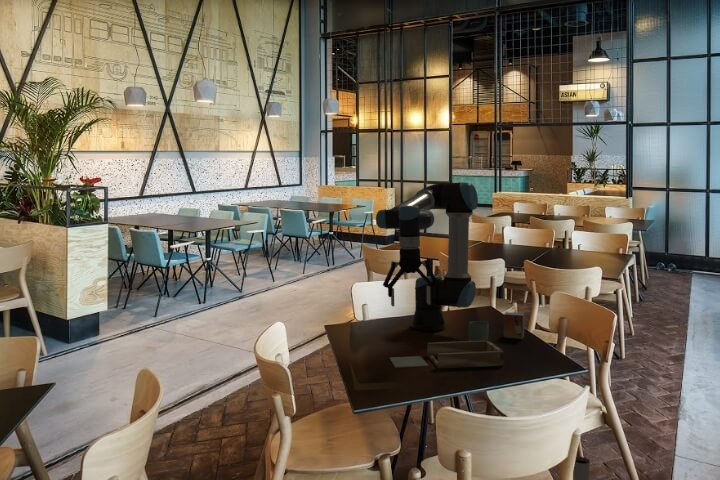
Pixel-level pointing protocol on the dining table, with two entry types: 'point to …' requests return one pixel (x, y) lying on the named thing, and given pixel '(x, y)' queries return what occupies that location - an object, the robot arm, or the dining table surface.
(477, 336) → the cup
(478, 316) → the dining table surface
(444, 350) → the wooden tray
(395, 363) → the sage tile
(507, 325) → the small box
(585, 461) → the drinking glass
